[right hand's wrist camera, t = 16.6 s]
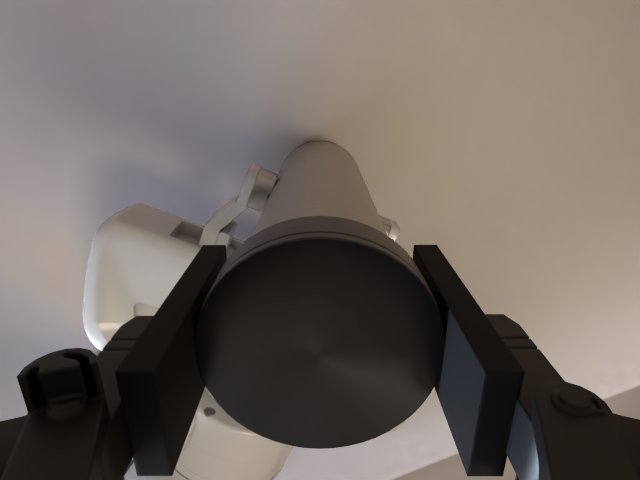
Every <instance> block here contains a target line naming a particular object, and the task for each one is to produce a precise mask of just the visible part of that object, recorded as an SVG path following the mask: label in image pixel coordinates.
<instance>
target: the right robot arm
mask: <svg viewBox="0 0 640 480" xmlns="http://www.w3.org/2000/svg"><path fill="white" fill-rule="evenodd" d="M413 260H414V262H415V264H416V265H417V267H418V268H419V270H420V272H421V274H422V276H423V277H424V279H425V281H426V283H427V285H428V287H429V289H430V291H431V293H432V295H433V297H434V299H435V301H436V303H437V305H438V308H439V310H440V312H441V316H442V320H443V323H444V328H445V348H444V357H443V364H442V369H441V372H440V375H439V377H438V380H437V382H436V384H435V386H434V387H435V390H436V392H437V395H438V398H439V400H440V403H441V406H442V409H443V411H444V414H445V417H446V419H447V422H448V425H449V427H450V430H451V433H452V436H453V438H454V441H455V444H456V446H457V449H458V452H459V454H460V457H461V460H462V463H463V465H464V468H465V471H466V473H467V476H503V472H504V468H505V463H506V459H507V456H508V458H509V460H510V462H511V464H512V466H513V468H514V470H515V472H516V478H515V480H640V420H638V419H634V418H629V417H625V416H620V415H617V414H613V413H612V411H611V410H610V408H609V407H608V406H607V404H606V403H605V402H604V401H603V400H602V399H601V398H599V397H598V396H597V395H596V394H594V393H593V392H591V391H589V390H587V389H585V388H583V387H581V386H578V385H574V384H571V383H568V382H565V381H564V380H563V379H562V377H561V376H560V375H559V374H558V372H557V371H556V370H555V369H554V367H553V366H552V365H551V364H550V362H549V361H548V360H547V359H546V357H545V356H544V355H543V354H542V352H541V351H540V350H539V349H537V346H536V345H535V344H534V343H533V341H532V340H531V339H529V336H528V335H527V334H526V333H525V331H524V330H523V329H522V328H521V326H520V325H519V324H517V323H516V322H514V321H513V320H511V319H510V318H508V317H506V316H505V315H503V314H484V312H483V311H482V310H481V308H480V307H479V305H478V304H477V302H476V301H475V300H474V298H473V297H472V295H471V294H470V292H469V291H468V289H467V288H466V287H465V285H464V284H463V282H462V281H461V279H460V278H459V277H458V275H457V274H456V272H455V271H454V269H453V268H452V266H451V265H450V264H449V262H448V261H447V259H446V258H445V256H444V255H443V254H442V252H441V251H440V249H439V248H438V246H437V245H414V251H413ZM226 261H227V254H226V245H203V246H202V247H201V249H200V250H199V252H198V253H197V255H196V256H195V258H194V259H193V260H192V262H191V263H190V265H189V266H188V268H187V269H186V270H185V272H184V273H183V275H182V276H181V278H180V279H179V280H178V282H177V283H176V285H175V286H174V288H173V289H172V291H171V292H170V293H169V295H168V296H167V298H166V299H165V301H164V302H163V303H162V305H161V306H160V308H159V309H158V311H157V312H156V314H155V315H154V316H136V317H134V318H132V319H131V320H129V321H128V322H126V323H125V324H123V325H122V326H121V327H120V328H119V329H118V330H117V332H116V333H115V334H114V335H113V337H112V338H111V341H109V342H108V343H107V344H106V345H105V347H104V348H103V351H101V352H100V353H99V354H98V355H97V356H96V354H94V353H93V352H92V351H90V350H87V349H82V348H73V349H64V350H60V351H56V352H52V353H49V354H47V355H45V356H43V357H40V358H38V359H36V360H35V361H33V362H32V363H30V364H29V365H27V366H26V367H25V368H24V369H23V370H22V371H21V372H20V374H19V375H18V376H17V378H18V382H19V385H20V388H21V391H22V394H23V397H24V400H25V404H26V407H27V410H28V414H27V415H26V416H22V417H19V418H14V419H10V420H5V421H1V422H0V480H125V478H124V474H125V472H126V470H127V468H128V466H129V464H130V462H131V460H132V458H133V460H134V464H135V469H136V474H137V476H172V475H173V473H174V470H175V467H176V465H177V462H178V459H179V457H180V454H181V451H182V448H183V446H184V443H185V440H186V438H187V435H188V432H189V430H190V427H191V424H192V421H193V419H194V416H195V413H196V411H197V408H198V405H199V403H200V400H201V397H202V394H203V392H204V389H205V384H204V382H203V380H202V378H201V375H200V372H199V369H198V366H197V359H196V351H195V341H194V337H195V329H196V323H197V320H198V316H199V313H200V310H201V308H202V305H203V303H204V301H205V299H206V297H207V295H208V293H209V291H210V289H211V287H212V285H213V283H214V281H215V279H216V277H217V276H218V274H219V272H220V270H221V268H222V267H223V265H224V264H225V262H226Z"/></svg>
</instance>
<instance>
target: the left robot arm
mask: <svg viewBox="0 0 640 480" xmlns="http://www.w3.org/2000/svg"><path fill="white" fill-rule="evenodd" d="M277 178H278V175H277V174H275V173H273V172H270V171H268V170H265V169H263V168H261V167H259V166H256V165H253V164H252V166H251V167H250V168H249V170H248V173H247V175H246V177H245V180H244V183H243V185H242V188H241V191H240V193H239V194H238V195H237V196H235V197H234V198H233V199H232V200H230V201H229V202H228V203H226V204H225V205H224V206H223V207H221V208H220V209H219V210H218V211H216V212H215V213H214V214H213V215H212V217H211V218H210V219H209V221H208V222H207V223H206V224H205V226H204V227H203V226H201V225H198V224H195V223H193V222H190V221H187V220H185V219H182V218H179V217H177V216H174V215H171V214H169V213H166V212H163V211H161V210H158V209H156V208H153V207H150V206H148V205H145V204H140V203H138V204H134V205H132V206H130V207H127V208H125V209H123V210H121V211H119V212H118V213H116V214H114V215H113V216H111V217H110V218H109V219H107V220H106V221H105V222H104V223H103V224H102V225H101V226H100V227H99V228H98V230H97V231H96V233H95V235H94V238H93V242H92V246H91V250H90V254H89V260H88V265H87V271H86V278H85V287H84V298H83V323H84V328H85V331H86V334H87V336H88V338H89V339H90V341H91V342H92V344H93V345H94V346H95V348H94V350H93V351H92V352H93V353H94V354H96V356H97V355H98V354H99V353H100V352H101V351H103V348H104V347H105V345H106V344H107V343H108V342H109V341H111V338H112V337H113V335H114V334H115V333H116V332H117V330H118V329H119V328H120V327H121V326H122V325H123V324H125V323H126V322H128V321H129V320H131V319H132V318H134V317H136V316H154V315H155V314H156V312H157V311H158V309H159V308H160V306H161V305H162V303H163V302H164V301H165V299H166V298H167V296H168V295H169V293H170V292H171V291H172V289H173V288H174V286H175V285H176V283H177V282H178V280H179V279H180V278H181V276H182V275H183V273H184V272H185V270H186V269H187V268H188V266H189V265H190V263H191V262H192V260H193V259H194V258H195V256H196V255H197V253H198V252H199V250H200V249H201V247H202V246H203V245H226V254H227V259H228V258H229V257H230V256H231V254H232V253H233V252H234V251H235V250H236V249H237V248H238V247H239V246H240V245H241V244H243V243H244V242H243V241H240V240H238V239H235V238H233V235H234V232H235V229H236V226H237V222H236V221H233V220H234V219H235V218H236V217H237V216H239V215H240V214H241V213H242V212H244V211H245V210H246V209H247V208H248V207H250V208H253V209H256V210H258V211H261V212H263V210H264V208H265V205H266V203H267V200H268V198H269V196H270V193H271V191H272V190H273V188H274V185H275V183H276V180H277ZM379 217H380V219H381V222H382V224H383V226H384V229H385V231H386V233H387V236H388V237H390V238H391V239H393V240H394V241H395V242H396V240H397V238H398V235H399V231H400V228H399V226H398V225H397V223H396V222H395V221H392V220H390V219H387V218H385V217H382V216H380V215H379ZM403 423H404V422H402V423H401V424H400V425H398V426H396V427H395V428H393V429H392V430H390V431H396V430H397V429H398V428H400V427H401V425H402V424H403ZM292 447H293V446H290V445H286V444H282V443H279V442H275V441H272V440H270V439H267V438H264V437H262V436H260V435H258V434H256V433H254V432H252V431H250V430H248V429H247V428H245V427H243V426H242V425H240V424H239V423H237V422H236V421H235V420H234V419H233V418H231V417H230V416H229V415H228V414H227V413H226V412H225V411H224V410H223V409H222V408H221V407H220V406H219V405H218V404H217V403H216V401H215V400H214V399H213V397H212V396H211V394H210V393H209V392H208V390H207V388H206V386H205V389H204V392H203V394H202V397H201V400H200V403H199V405H198V408H197V411H196V413H195V416H194V419H193V421H192V424H191V427H190V430H189V432H188V435H187V438H186V440H185V443H184V446H183V448H182V451H181V454H180V457H179V459H178V462H177V465H176V467H175V470H174V473H173V475H172V476H137V474H136V469H135V464H134V460H131V462H130V464H129V466H128V468H127V470H126V472H125V474H124V478H125V480H273V479H274V478H275V477H276V476H277V474H278V473H279V471H280V470H281V468H282V467H283V465H284V463H285V461H286V459H287V457H288V455H289V453H290V451H291V449H292Z"/></svg>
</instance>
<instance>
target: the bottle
mask: <svg viewBox="0 0 640 480" xmlns="http://www.w3.org/2000/svg"><path fill="white" fill-rule="evenodd" d="M307 216H332V217H340V218H345V219H350V220H354V221H357V222H360V223H363V224H366V225H368V226H370V227H372V228H375V229H377V230H379V231H381V232H382V233H384V234H385V235H387V233H386V231H385V229H384V226H383V224H382V222H381V219H380V217H379V215H378V212H377V210H376V208H375V205H374V203H373V201H372V198H371V196H370V194H369V191H368V189H367V187H366V184H365V182H364V180H363V177H362V175H361V173H360V170H359V168H358V166H357V164H356V162H355V160H354V158H353V157H352V156H351V155H350V154H349V153H348V152H347V151H346V150H345V149H343V148H342V147H340V146H338V145H336V144H334V143H331V142H326V141H314V142H309V143H306V144H303V145H301V146H300V147H298V148H296V149H295V150H294V151H293V152H292V153H290V155H289V156H288V157H287V158H286V160H285V161H284V163H283V165H282V168H281V170H280V172H279V175H278V178H277V180H276V183H275V185H274V188H273V190H272V191H271V193H270V196H269V198H268V200H267V203H266V205H265V208H264V210H263V212H262V215H261V217H260V219H259V222H258V224H257V226H256V229H255V231H254V233H253V235H255V234H256V233H258V232H259V231H261V230H263V229H265V228H268V227H270V226H272V225H274V224H277V223H280V222H283V221H286V220H289V219H295V218H300V217H307Z"/></svg>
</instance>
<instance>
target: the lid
mask: <svg viewBox="0 0 640 480" xmlns="http://www.w3.org/2000/svg"><path fill="white" fill-rule="evenodd" d="M194 341H195V351H196V359H197V366H198V369H199V372H200V375H201V378H202V380H203V382H204V384H205V386H206V388H207V390H208V392H209V393H210V394H211V396H212V397H213V399H214V400H215V401H216V403H217V404H218V405H219V406H220V407H221V408H222V409H223V410H224V411H225V412H226V413H227V414H228V415H229V416H230V417H231V418H233V419H234V420H235V421H236V422H237V423H239V424H240V425H242V426H243V427H245V428H247V429H248V430H250V431H252V432H254V433H256V434H258V435H260V436H262V437H264V438H267V439H270V440H272V441H275V442H279V443H282V444H286V445H290V446H297V447H303V448H318V449H319V448H336V447H343V446H349V445H354V444H358V443H362V442H365V441H367V440H370V439H373V438H376V437H378V436H380V435H382V434H384V433H386V432H388V431H390V430H392V429H393V428H395V427H396V426H398V425H400V424H401V423H402V422H404V421H405V420H406V419H407V418H409V417H410V416H411V415H412V414H413V413H414V412H415V411H416V410H417V409H418V408H419V407H420V406H421V405H422V404H423V402H424V401H425V400H426V398H427V397H428V396H429V394H430V393H431V391H432V389H433V388H434V386H435V384H436V382H437V380H438V377H439V375H440V372H441V369H442V364H443V357H444V348H445V328H444V323H443V320H442V316H441V312H440V310H439V308H438V305H437V303H436V301H435V299H434V297H433V295H432V293H431V291H430V289H429V287H428V285H427V283H426V281H425V279H424V277H423V276H422V274H421V272H420V270H419V268H418V267H417V265H416V264H415V262H414V260H413V259H412V258H411V257H410V256H409V255H408V253H407V252H406V251H405V250H404V249H403V248H402V247H401V246H400V245H399V244H397V243H396V242H395V241H394V240H393V239H391V238H390V237H388V236H387V235H385V234H384V233H382V232H381V231H379V230H377V229H375V228H372V227H370V226H368V225H366V224H363V223H360V222H357V221H354V220H350V219H345V218H340V217H332V216H307V217H300V218H295V219H289V220H286V221H283V222H280V223H277V224H274V225H272V226H270V227H268V228H265V229H263V230H261V231H259V232H258V233H256V234H255V235H253V236H252V237H250V238H248V239H247V240H246V241H245V242H244V243H243V244H241V245H240V246H239V247H238V248H237V249H236V250H235V251H234V252H233V253H232V254H231V256H230V257H229V258H228V259H227V261H226V262H225V264H224V265H223V267H222V268H221V270H220V272H219V274H218V276H217V277H216V279H215V281H214V283H213V285H212V287H211V289H210V291H209V293H208V295H207V297H206V299H205V301H204V303H203V305H202V308H201V310H200V313H199V316H198V320H197V323H196V329H195V337H194Z"/></svg>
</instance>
